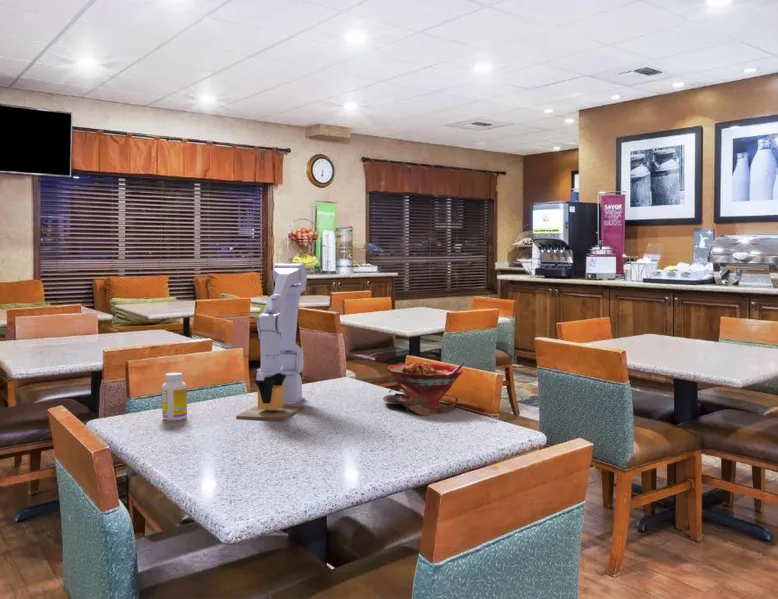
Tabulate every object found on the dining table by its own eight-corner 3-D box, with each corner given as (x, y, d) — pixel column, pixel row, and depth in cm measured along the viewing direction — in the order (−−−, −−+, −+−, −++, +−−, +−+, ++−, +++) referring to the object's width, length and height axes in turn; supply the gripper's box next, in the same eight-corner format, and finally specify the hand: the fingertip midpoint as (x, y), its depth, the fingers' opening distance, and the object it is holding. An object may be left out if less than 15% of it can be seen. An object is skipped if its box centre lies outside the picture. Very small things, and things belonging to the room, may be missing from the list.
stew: (487, 410, 197) (487, 357, 196) (425, 422, 183) (425, 365, 182) (426, 395, 220) (427, 347, 219) (367, 404, 205) (367, 353, 204)
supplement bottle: (190, 416, 189) (190, 372, 189) (181, 421, 183) (180, 376, 182) (168, 415, 190) (167, 371, 189) (158, 421, 183) (157, 375, 183)
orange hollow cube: (266, 404, 195) (266, 384, 195) (283, 405, 194) (283, 385, 193) (257, 408, 190) (257, 388, 189) (275, 410, 188) (275, 389, 188)
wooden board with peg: (261, 407, 201) (260, 389, 201) (303, 409, 198) (303, 391, 198) (236, 419, 186) (235, 399, 186) (282, 422, 182) (281, 402, 182)
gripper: (268, 350, 199) (268, 395, 200) (246, 357, 185) (246, 405, 186) (290, 351, 197) (290, 396, 198) (269, 358, 183) (270, 406, 184)
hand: (270, 400), depth 192 cm, fingers closed on orange hollow cube, 5 cm apart
